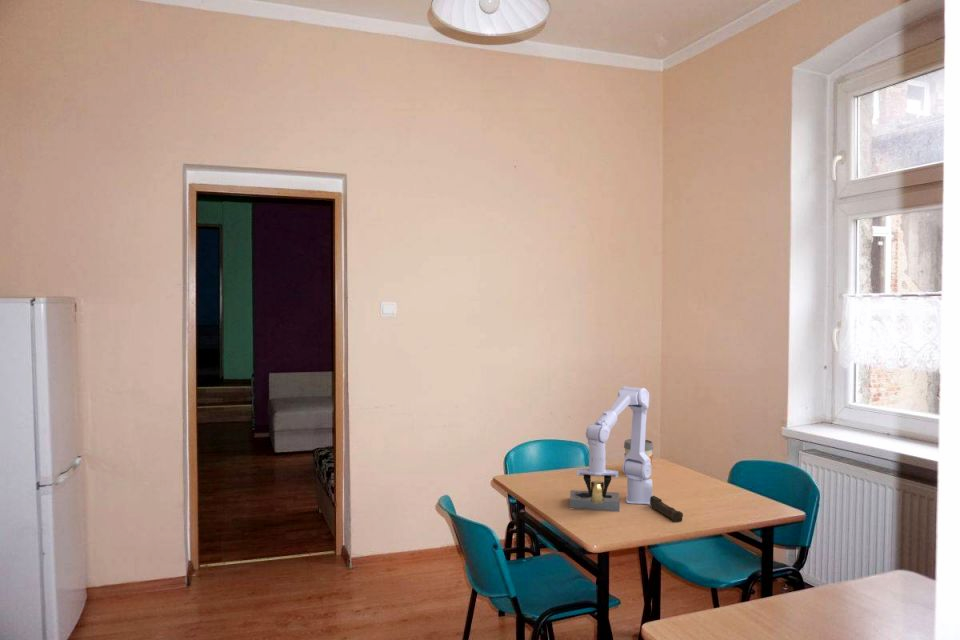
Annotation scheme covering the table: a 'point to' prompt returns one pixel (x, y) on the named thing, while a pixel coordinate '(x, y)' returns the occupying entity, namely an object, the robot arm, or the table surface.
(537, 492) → the table surface
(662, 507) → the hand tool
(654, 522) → the table surface
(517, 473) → the table surface
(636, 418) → the robot arm
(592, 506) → the grey flat block
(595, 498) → the brass fitting
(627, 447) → the reusable coffee cup
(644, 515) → the table surface
